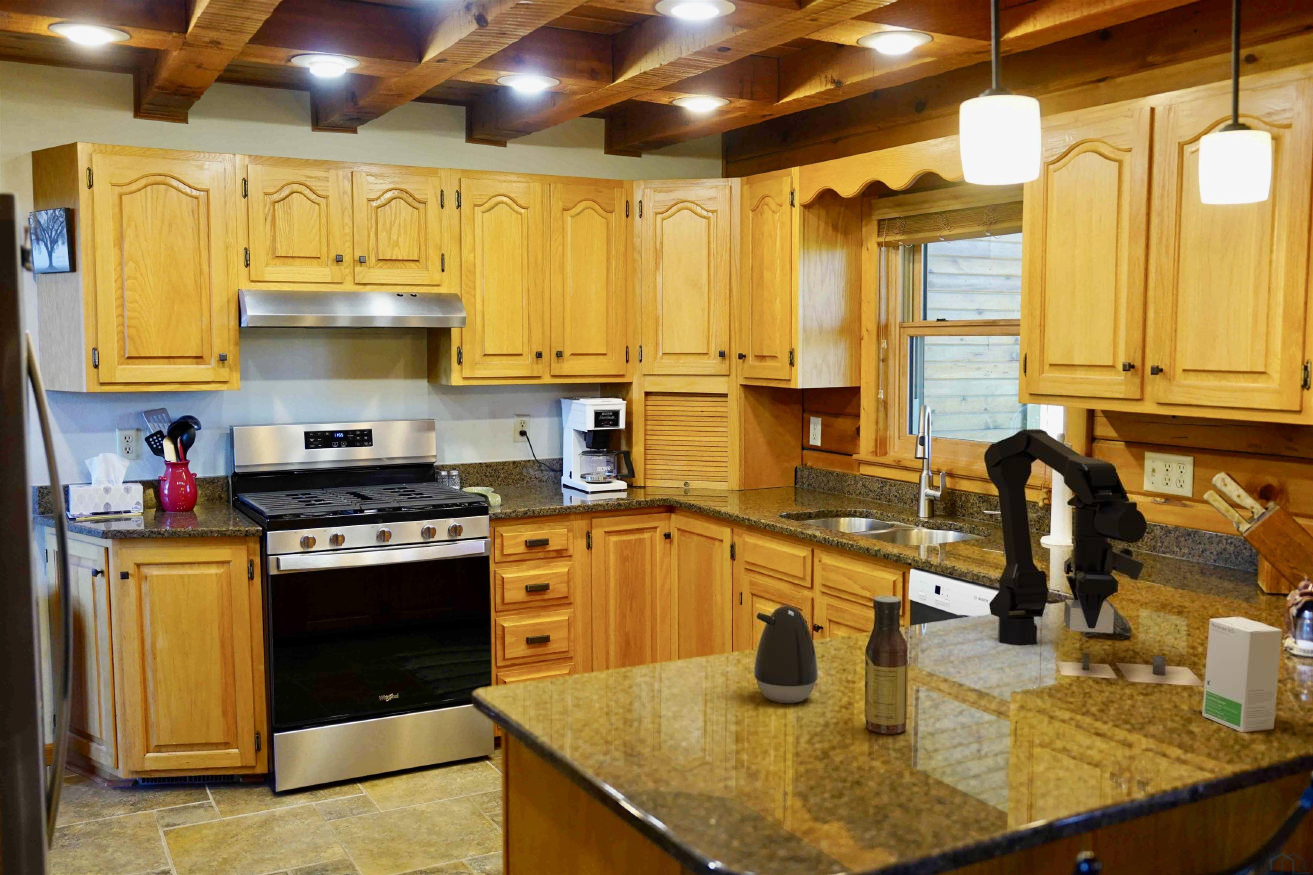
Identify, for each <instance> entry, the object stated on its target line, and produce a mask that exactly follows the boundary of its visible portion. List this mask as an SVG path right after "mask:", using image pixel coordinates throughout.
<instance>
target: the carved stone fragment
mask: <svg viewBox="0 0 1313 875" xmlns="http://www.w3.org/2000/svg"><path fill="white" fill-rule="evenodd" d="M1104 602H1107V603H1108V604H1109V605H1110V606H1111V607H1112V608H1113V610H1114V620H1113V633H1109V634H1110V635H1113V636H1115V637H1116V638H1118V639H1121V640H1127V639H1129V638H1130V637H1131V636H1132V632H1133V630H1132V627H1131V625H1130V623H1129V621H1128V619H1127V618H1126V617H1125V616H1124V615H1122V614H1121V613H1120V612H1118V609H1117V608H1116V607H1115V605H1114V604H1113V603H1112V602H1111V601H1109V599H1108V598H1106V599H1105V600H1104ZM1105 634H1107V633H1101V632H1083V631H1082V637H1083V638H1084V637H1086V638H1089V637H1093V636H1096V635H1098V636H1103V635H1105Z"/></svg>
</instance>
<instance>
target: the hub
mask: <svg viewBox="0 0 1313 875" xmlns="http://www.w3.org/2000/svg"><path fill="white" fill-rule="evenodd" d="M1166 661H1167V657H1166V656H1163V655H1158V654H1157V655H1153V657H1152V664H1140V663H1139V664H1138V663H1123V662H1116V663H1115V664H1116V666H1117V667H1118V668H1119V670H1120V672H1121V673H1122V674H1123V675H1124V677H1125V678H1126V680H1127V681H1128V682H1130V683H1131V682H1133V683H1147V684H1148V683H1149V684H1164V685H1178V686H1180V685H1181V686H1193V687H1194V686H1196V687H1204V686H1205V683H1203V682H1202V681H1201V680H1200V679H1199V678H1198V677H1197V675H1196V674H1195V673H1193V672H1192V670H1191V669H1190V668H1189V667H1187V666H1174V665H1171V666H1169V665H1166V664H1167V662H1166Z"/></svg>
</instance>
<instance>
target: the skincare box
mask: <svg viewBox="0 0 1313 875" xmlns="http://www.w3.org/2000/svg"><path fill="white" fill-rule="evenodd" d="M1282 635H1283V629H1280V628H1278V627H1274V626H1271V625H1268V624H1265V623H1263V622H1260V621H1256V620H1252V619H1248V618H1246V617H1242V616H1231V617H1218V618H1209V627H1208V638H1207V649H1206V650H1207V651H1206V663H1205V674H1204V675H1205V676H1204V685H1205V686H1203V687H1204V689H1203V700H1202V712H1201V713H1202V716H1203V718H1207V719H1209V720H1211V721H1214V722H1216V723H1218V724H1221V725H1223V726H1226V727H1228V728H1231V729H1234V730H1236V731H1238V732H1240V733H1250V732H1257V731H1265V730H1266V731H1267V730H1273V729H1274V728H1275V718H1276V706H1277V692H1278V682H1279V672H1280V670H1279V669H1280V661H1281V659H1280V658H1281V648H1282V647H1281V646H1282V638H1283V637H1282Z"/></svg>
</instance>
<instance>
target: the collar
mask: <svg viewBox="0 0 1313 875" xmlns="http://www.w3.org/2000/svg"><path fill="white" fill-rule="evenodd" d="M1063 611H1064V615H1063V616H1064V617H1063V618H1064V619H1063V622H1064V624H1065V625H1066V627H1067V628H1068V630H1069V632H1082V633H1083V632H1101V633H1106V634H1110V633H1113V620H1114V610H1113V608H1112V607H1111V606H1110V605H1109V604H1108V603H1107V602H1103V605H1102V607H1101V611H1100V614H1099V617H1098V620H1097V624H1096V627H1095V628H1094V629H1093V628H1088V626H1087V623H1086V620H1085V617H1084V614H1083V611H1082V608H1081V605H1080V602H1079V600H1075V599H1064V610H1063Z"/></svg>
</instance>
